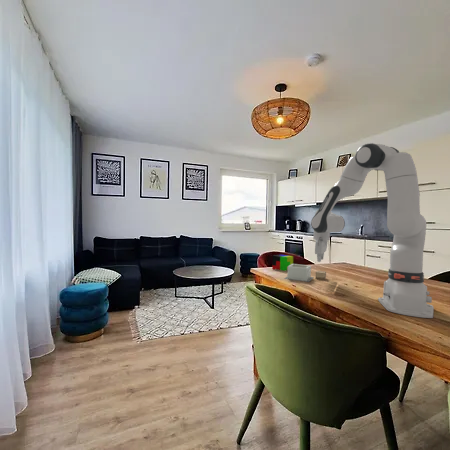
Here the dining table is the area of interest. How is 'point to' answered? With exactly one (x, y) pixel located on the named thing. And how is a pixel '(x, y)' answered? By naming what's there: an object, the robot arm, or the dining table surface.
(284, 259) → the puzzle toy
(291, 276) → the grey box
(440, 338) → the dining table surface
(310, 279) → the tray
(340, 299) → the dining table surface
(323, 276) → the oak cube
